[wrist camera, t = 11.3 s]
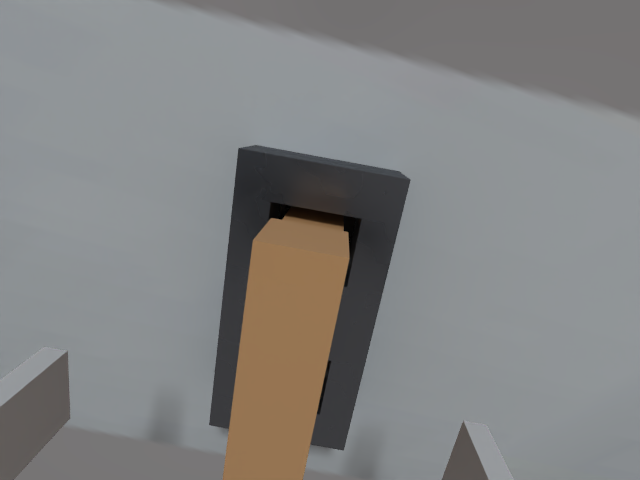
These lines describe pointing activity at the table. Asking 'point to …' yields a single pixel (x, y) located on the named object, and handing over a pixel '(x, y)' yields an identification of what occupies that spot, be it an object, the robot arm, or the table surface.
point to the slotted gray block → (361, 277)
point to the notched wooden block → (285, 343)
